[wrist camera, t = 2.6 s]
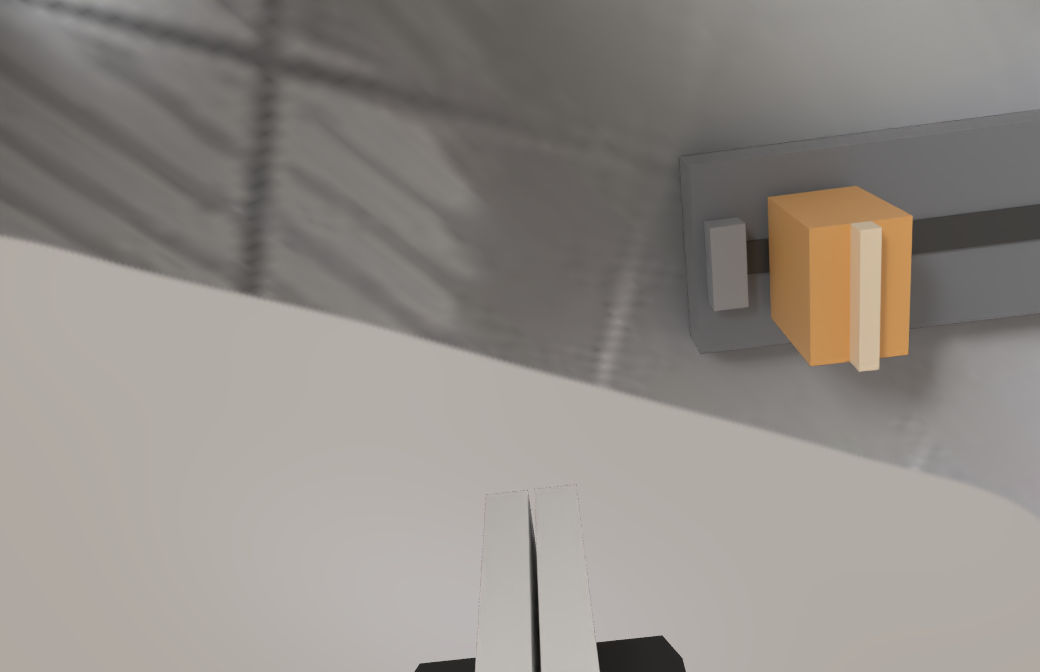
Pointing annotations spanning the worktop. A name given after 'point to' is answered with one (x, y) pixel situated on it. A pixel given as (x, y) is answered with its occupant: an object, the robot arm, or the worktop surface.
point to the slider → (840, 275)
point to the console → (893, 178)
